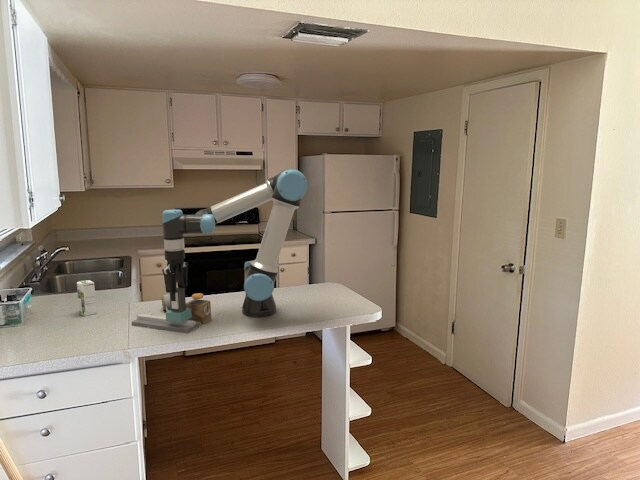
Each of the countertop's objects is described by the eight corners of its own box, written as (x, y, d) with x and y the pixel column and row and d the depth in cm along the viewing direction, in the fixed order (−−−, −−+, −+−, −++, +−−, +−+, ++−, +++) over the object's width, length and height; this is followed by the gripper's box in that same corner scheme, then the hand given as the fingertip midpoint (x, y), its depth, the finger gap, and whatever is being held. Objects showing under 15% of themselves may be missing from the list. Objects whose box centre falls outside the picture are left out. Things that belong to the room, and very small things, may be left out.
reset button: (205, 296, 185) (205, 293, 185) (199, 299, 181) (199, 296, 181) (196, 295, 187) (196, 292, 187) (190, 298, 183) (189, 295, 182)
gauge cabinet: (212, 319, 187) (211, 300, 186) (204, 324, 181) (203, 304, 180) (195, 317, 190) (194, 298, 188) (186, 321, 184) (185, 302, 183)
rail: (200, 325, 180) (200, 318, 180) (187, 333, 172) (186, 325, 171) (147, 318, 189) (146, 311, 189) (131, 325, 181) (131, 318, 180)
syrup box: (78, 313, 195) (75, 281, 193) (93, 310, 200) (89, 279, 197) (83, 316, 192) (79, 284, 189) (97, 313, 196) (94, 281, 193)
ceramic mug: (161, 308, 202) (160, 292, 200) (180, 305, 205) (179, 289, 204) (164, 315, 193) (163, 298, 191) (184, 312, 196) (183, 296, 195)
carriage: (191, 317, 180) (189, 287, 178) (180, 323, 173) (178, 292, 171) (177, 315, 182) (175, 285, 180) (166, 321, 176) (163, 290, 174)
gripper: (179, 245, 182) (183, 300, 186) (152, 252, 167) (156, 312, 171) (195, 246, 179) (198, 301, 183) (168, 254, 164) (173, 314, 168)
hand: (178, 306), depth 177 cm, fingers closed on carriage, 3 cm apart
